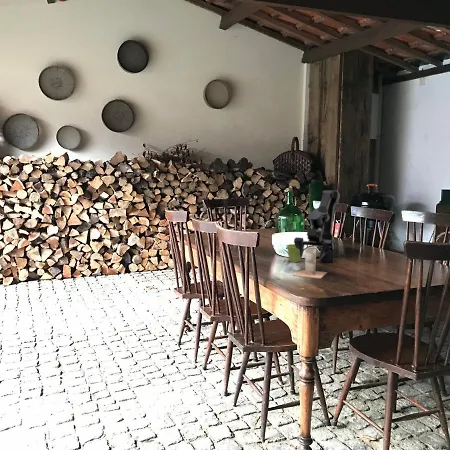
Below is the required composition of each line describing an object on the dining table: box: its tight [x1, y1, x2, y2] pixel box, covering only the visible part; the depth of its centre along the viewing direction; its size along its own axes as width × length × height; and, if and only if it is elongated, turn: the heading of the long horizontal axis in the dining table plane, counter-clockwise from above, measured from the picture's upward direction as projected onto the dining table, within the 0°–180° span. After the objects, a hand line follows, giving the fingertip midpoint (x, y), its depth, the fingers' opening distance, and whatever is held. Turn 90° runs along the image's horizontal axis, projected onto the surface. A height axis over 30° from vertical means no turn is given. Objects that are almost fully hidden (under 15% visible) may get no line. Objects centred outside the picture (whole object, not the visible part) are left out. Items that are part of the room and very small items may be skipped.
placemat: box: [292, 269, 328, 280], centre depth 233 cm, size 13×13×1 cm
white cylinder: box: [304, 247, 317, 275], centre depth 232 cm, size 5×5×12 cm
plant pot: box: [286, 243, 302, 263], centre depth 263 cm, size 9×9×9 cm
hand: (310, 258), depth 231 cm, fingers open, 9 cm apart
